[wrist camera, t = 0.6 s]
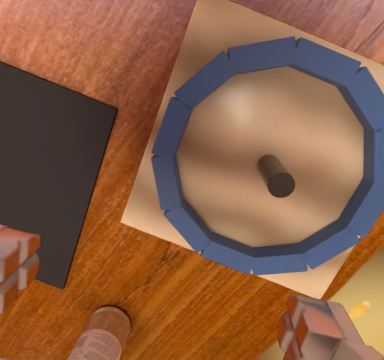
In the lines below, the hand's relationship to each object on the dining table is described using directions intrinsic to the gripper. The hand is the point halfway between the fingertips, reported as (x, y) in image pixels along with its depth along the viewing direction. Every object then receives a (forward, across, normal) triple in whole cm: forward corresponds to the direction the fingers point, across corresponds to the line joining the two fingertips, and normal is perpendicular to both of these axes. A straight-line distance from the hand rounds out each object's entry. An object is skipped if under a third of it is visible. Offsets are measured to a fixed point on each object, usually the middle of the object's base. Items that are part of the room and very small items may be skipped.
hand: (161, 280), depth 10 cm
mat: (+18, +19, +6) cm, 27 cm away
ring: (+14, -5, -1) cm, 15 cm away
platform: (+18, -5, -1) cm, 19 cm away
